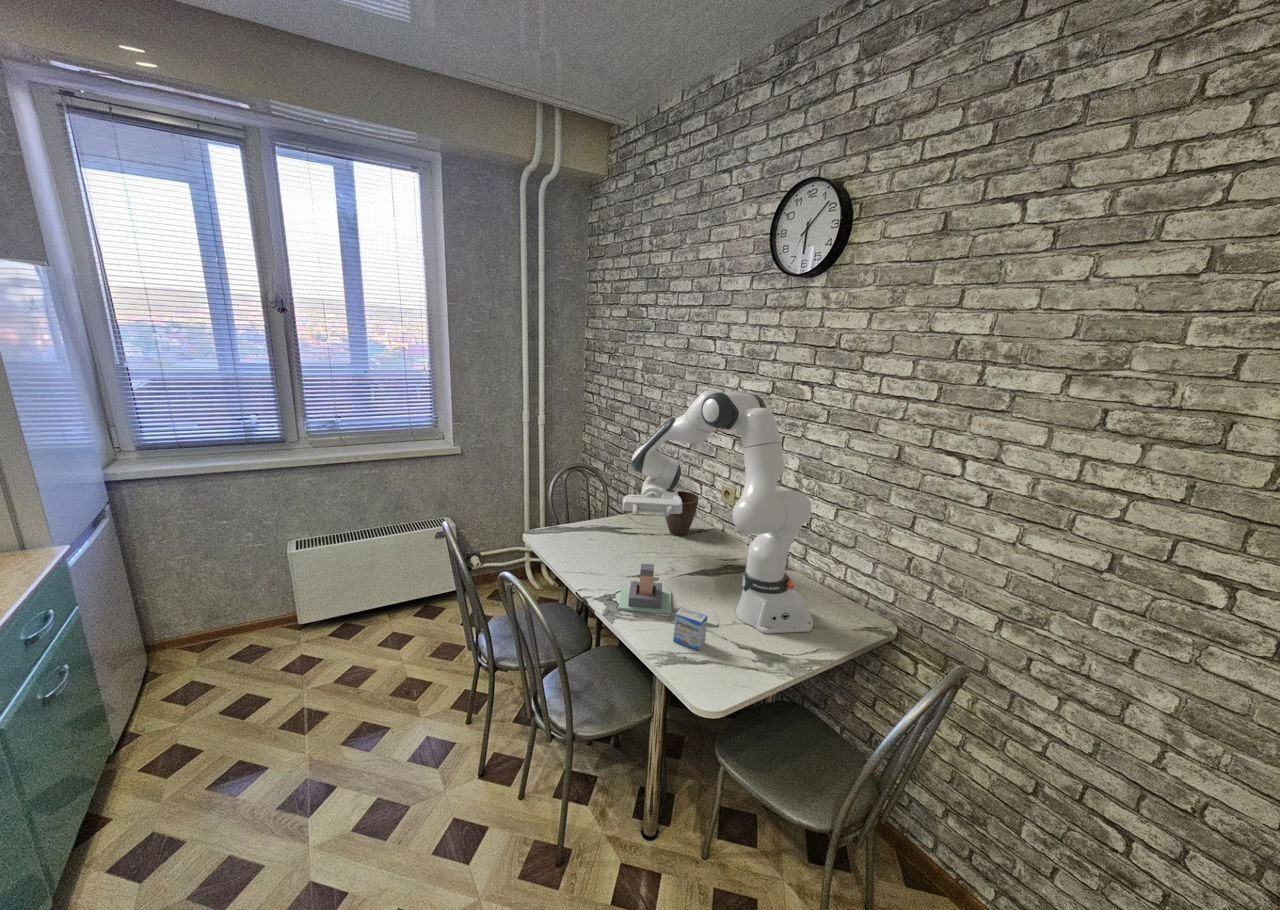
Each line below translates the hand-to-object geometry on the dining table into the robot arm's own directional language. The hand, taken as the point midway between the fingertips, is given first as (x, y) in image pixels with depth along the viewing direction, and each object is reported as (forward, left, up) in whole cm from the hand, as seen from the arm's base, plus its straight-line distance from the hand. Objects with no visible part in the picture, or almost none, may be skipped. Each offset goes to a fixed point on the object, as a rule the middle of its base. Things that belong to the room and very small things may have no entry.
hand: (651, 513), depth 159 cm
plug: (0, +12, -24) cm, 27 cm away
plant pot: (-11, -43, -25) cm, 51 cm away
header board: (0, +12, -25) cm, 28 cm away
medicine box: (-13, +31, -25) cm, 42 cm away
